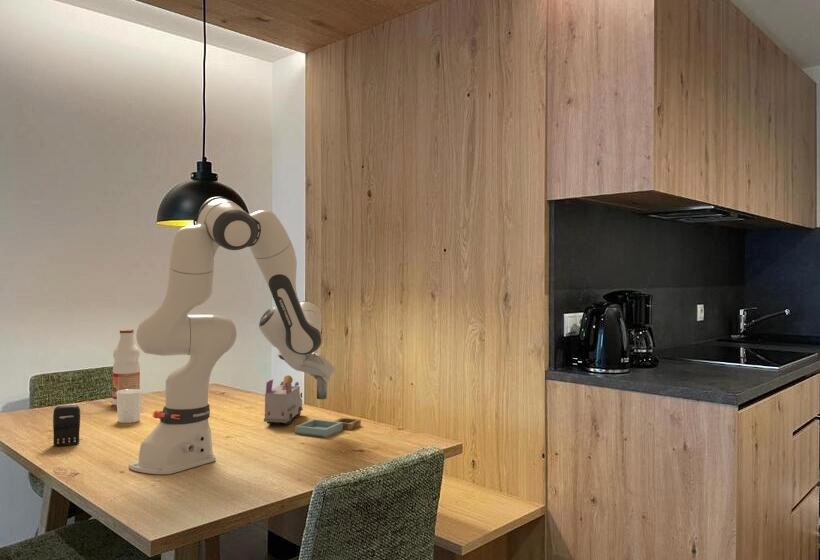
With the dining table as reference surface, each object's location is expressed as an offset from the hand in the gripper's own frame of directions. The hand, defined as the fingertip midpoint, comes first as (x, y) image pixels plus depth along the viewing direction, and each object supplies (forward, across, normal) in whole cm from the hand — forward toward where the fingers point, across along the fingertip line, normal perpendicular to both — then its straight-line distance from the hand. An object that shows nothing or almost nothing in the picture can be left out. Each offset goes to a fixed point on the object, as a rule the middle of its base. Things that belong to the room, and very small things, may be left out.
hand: (323, 379), depth 205 cm
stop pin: (+4, 0, +5) cm, 6 cm away
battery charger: (-35, +33, +59) cm, 76 cm away
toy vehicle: (+11, +21, +13) cm, 27 cm away
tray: (+12, +1, +12) cm, 17 cm away
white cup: (-18, +52, +42) cm, 69 cm away
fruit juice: (-12, +81, +36) cm, 89 cm away
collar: (+19, +1, +5) cm, 20 cm away
